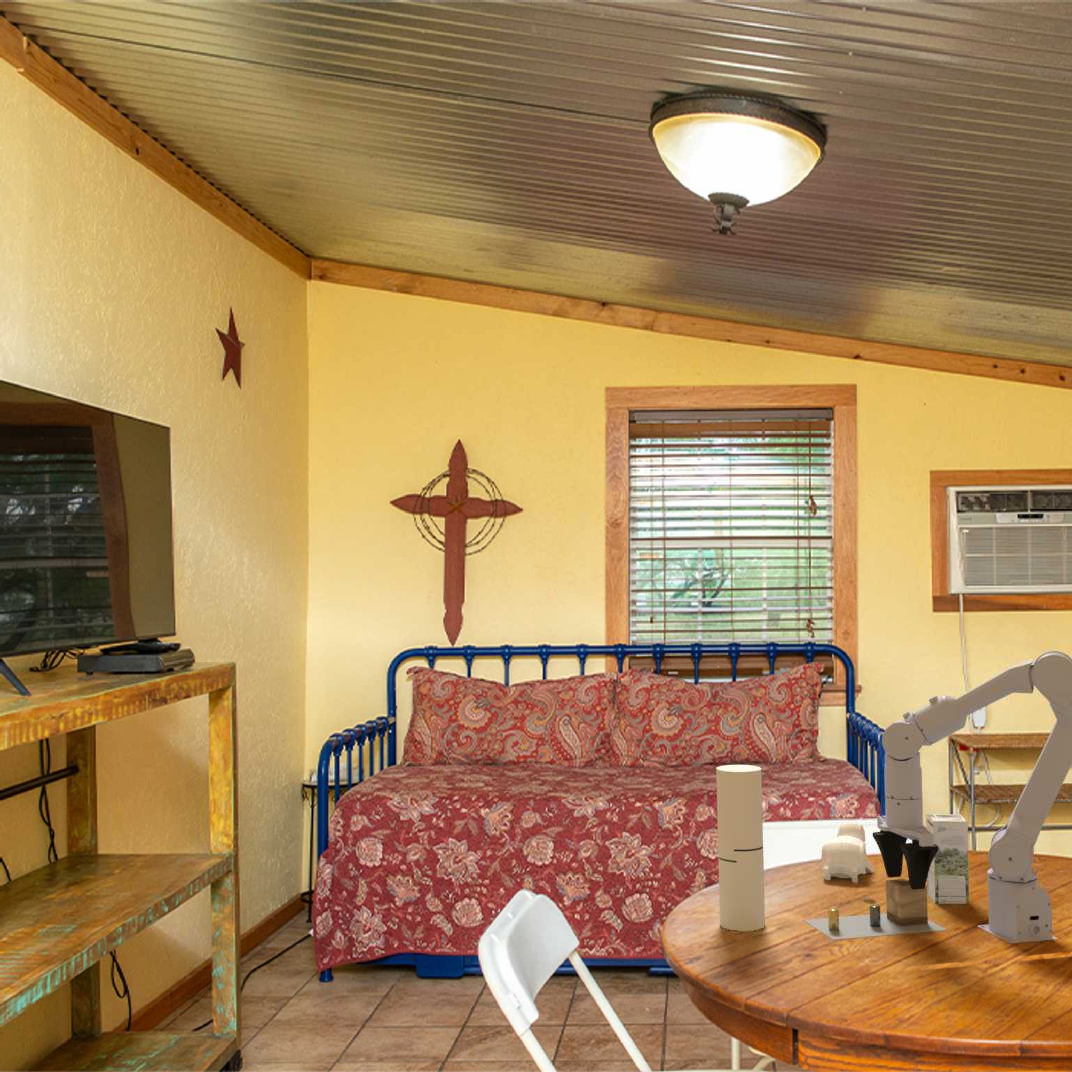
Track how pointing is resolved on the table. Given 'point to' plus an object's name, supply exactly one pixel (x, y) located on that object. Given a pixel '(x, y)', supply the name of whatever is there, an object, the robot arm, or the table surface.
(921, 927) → the board
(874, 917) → the steel pin
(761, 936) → the table surface
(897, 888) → the sleeve
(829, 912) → the brass pin
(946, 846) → the syrup box
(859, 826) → the white animal figurine
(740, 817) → the cylindrical container
